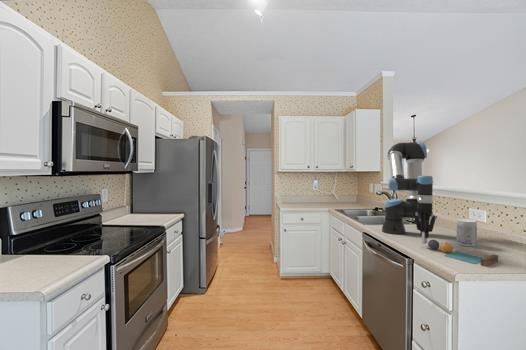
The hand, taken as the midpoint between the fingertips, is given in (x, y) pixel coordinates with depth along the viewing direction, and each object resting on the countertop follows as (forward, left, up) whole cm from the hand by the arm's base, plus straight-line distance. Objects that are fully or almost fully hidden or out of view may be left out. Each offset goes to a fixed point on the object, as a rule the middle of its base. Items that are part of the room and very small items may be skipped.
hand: (424, 243), depth 156 cm
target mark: (+20, +1, -2) cm, 21 cm away
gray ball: (+5, 0, 0) cm, 5 cm away
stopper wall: (+31, +1, -2) cm, 31 cm away
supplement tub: (+9, +27, -3) cm, 28 cm away
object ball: (+11, +1, 0) cm, 12 cm away
